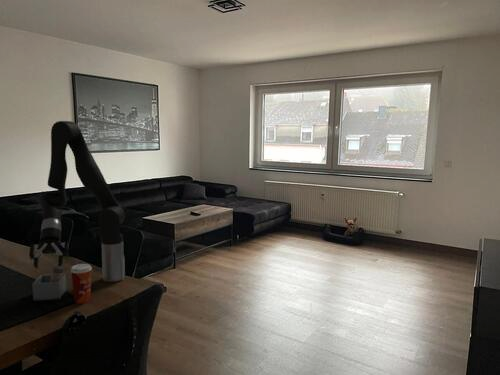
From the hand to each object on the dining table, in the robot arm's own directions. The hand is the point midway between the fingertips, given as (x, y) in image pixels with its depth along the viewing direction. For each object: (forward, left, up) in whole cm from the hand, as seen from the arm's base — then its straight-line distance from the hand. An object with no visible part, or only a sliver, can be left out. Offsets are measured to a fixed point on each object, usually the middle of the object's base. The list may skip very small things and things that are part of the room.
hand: (48, 266), depth 146 cm
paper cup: (-14, +6, -13) cm, 20 cm away
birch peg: (0, -2, -11) cm, 11 cm away
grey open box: (0, -1, -13) cm, 13 cm away
